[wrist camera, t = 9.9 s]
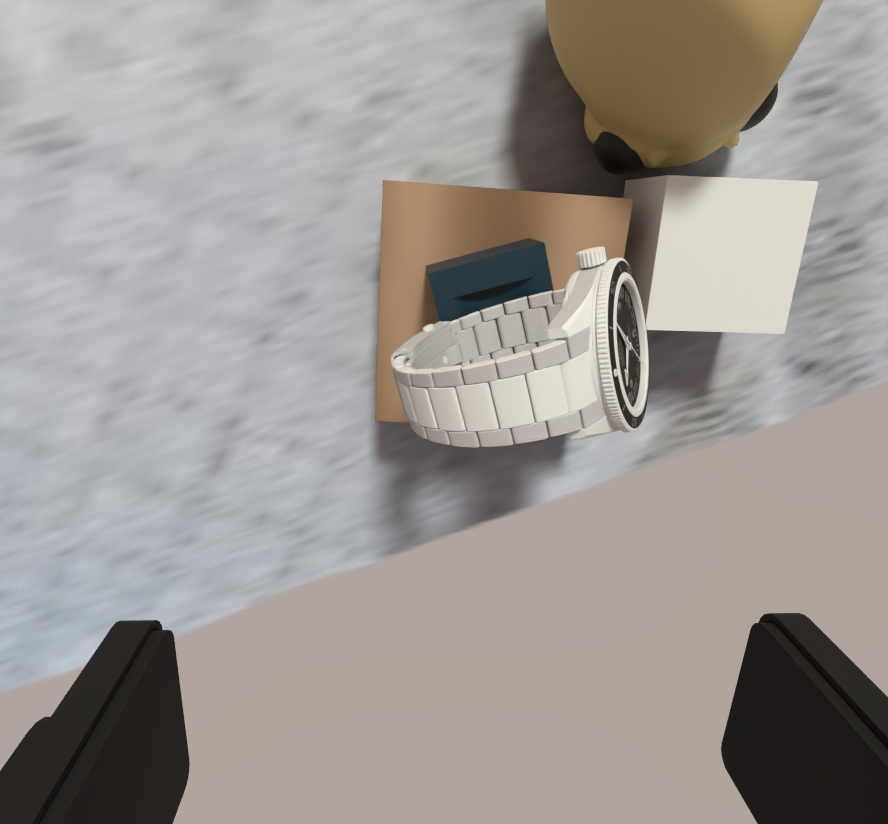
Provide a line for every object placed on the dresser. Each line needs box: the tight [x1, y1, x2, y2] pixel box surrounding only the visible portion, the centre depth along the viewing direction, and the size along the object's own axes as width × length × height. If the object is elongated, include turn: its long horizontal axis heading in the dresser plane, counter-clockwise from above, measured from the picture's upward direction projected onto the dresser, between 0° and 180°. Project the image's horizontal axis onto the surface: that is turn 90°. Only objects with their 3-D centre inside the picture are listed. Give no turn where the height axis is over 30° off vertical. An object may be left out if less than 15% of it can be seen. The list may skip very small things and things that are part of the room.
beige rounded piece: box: [546, 0, 823, 175], centre depth 21 cm, size 10×12×11 cm
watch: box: [391, 238, 649, 448], centre depth 20 cm, size 6×8×11 cm
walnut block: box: [375, 180, 633, 429], centre depth 27 cm, size 10×10×4 cm
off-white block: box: [623, 175, 818, 334], centre depth 26 cm, size 6×6×5 cm
